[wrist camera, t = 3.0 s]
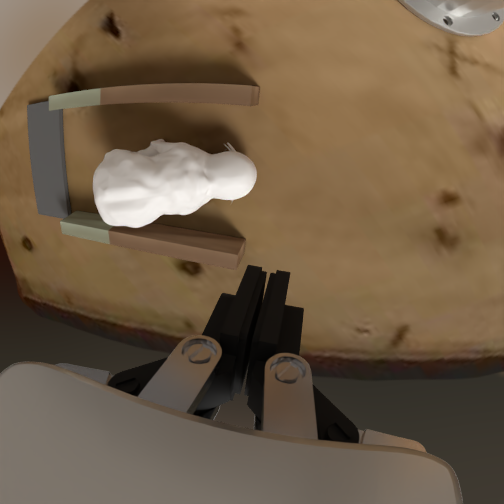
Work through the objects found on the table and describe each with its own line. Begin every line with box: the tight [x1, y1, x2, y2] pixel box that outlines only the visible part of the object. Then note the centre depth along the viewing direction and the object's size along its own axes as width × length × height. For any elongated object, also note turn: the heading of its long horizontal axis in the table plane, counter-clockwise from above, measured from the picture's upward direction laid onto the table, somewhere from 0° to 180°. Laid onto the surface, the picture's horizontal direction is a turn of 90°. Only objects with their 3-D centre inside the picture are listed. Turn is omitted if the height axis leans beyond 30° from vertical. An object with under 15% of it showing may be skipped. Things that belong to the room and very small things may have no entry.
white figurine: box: [93, 139, 257, 228], centre depth 23 cm, size 6×8×12 cm
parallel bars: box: [49, 83, 260, 270], centre depth 25 cm, size 15×20×3 cm
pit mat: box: [27, 101, 71, 219], centre depth 28 cm, size 14×6×1 cm, turn 175°
